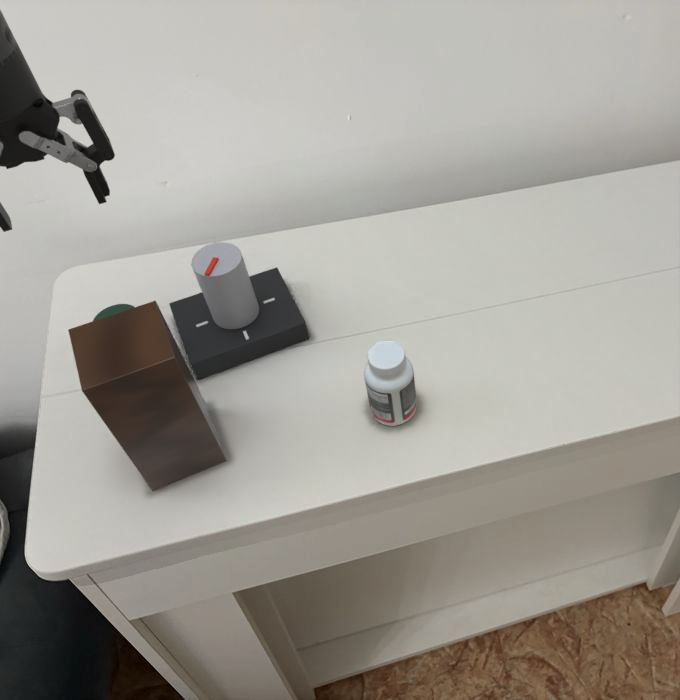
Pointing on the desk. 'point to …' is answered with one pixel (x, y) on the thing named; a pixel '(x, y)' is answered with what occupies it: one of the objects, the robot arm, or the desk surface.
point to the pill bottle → (390, 383)
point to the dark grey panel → (244, 343)
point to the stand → (146, 394)
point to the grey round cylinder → (225, 285)
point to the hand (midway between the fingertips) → (55, 212)
